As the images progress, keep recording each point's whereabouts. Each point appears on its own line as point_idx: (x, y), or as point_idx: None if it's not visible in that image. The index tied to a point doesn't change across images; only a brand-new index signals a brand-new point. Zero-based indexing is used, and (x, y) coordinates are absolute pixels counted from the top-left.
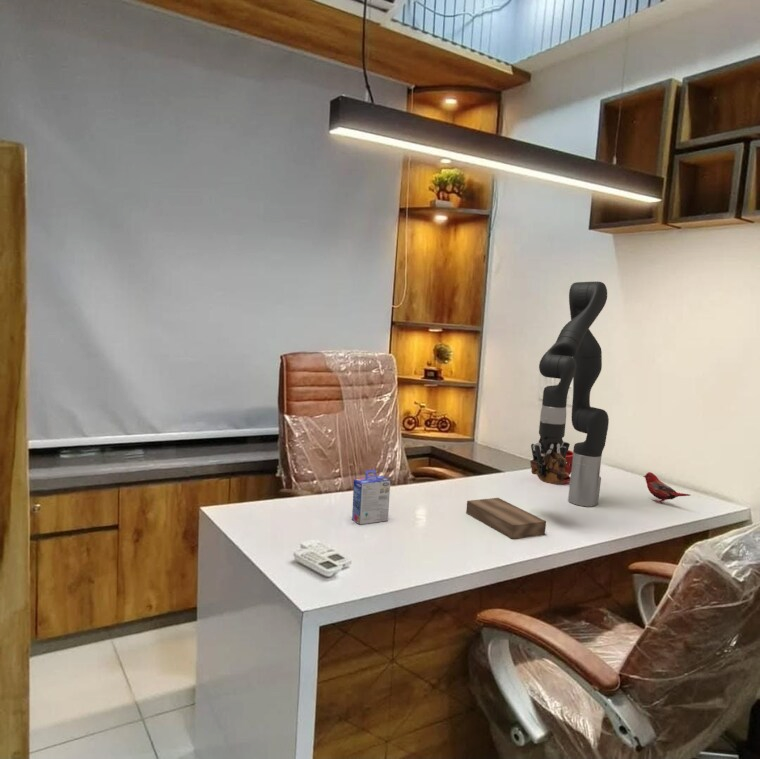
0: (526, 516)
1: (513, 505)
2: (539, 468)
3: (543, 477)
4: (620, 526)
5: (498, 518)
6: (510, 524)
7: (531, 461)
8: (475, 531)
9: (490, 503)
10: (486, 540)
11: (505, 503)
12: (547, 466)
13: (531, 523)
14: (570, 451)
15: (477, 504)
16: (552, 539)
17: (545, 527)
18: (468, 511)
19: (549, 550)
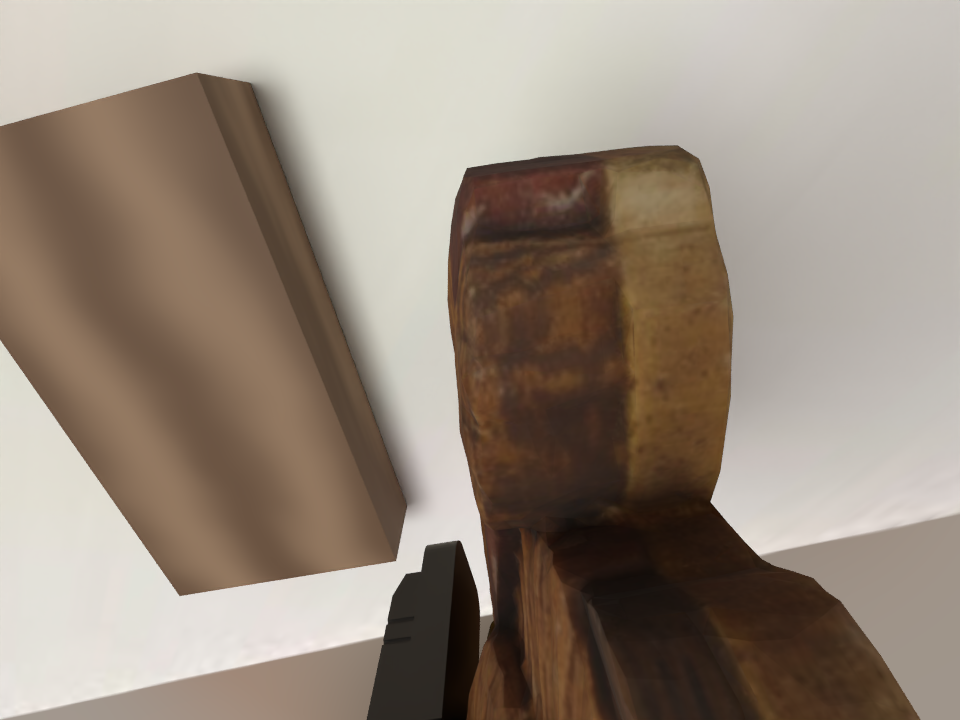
0: (303, 497)
1: (284, 301)
2: (384, 678)
3: (484, 545)
4: (934, 438)
5: (118, 499)
6: (170, 578)
7: (456, 258)
8: (41, 448)
9: (92, 243)
10: (90, 539)
11: (229, 248)
12: None
13: (296, 575)
14: None
15: None
16: (417, 549)
17: (401, 532)
18: None
19: (346, 628)
